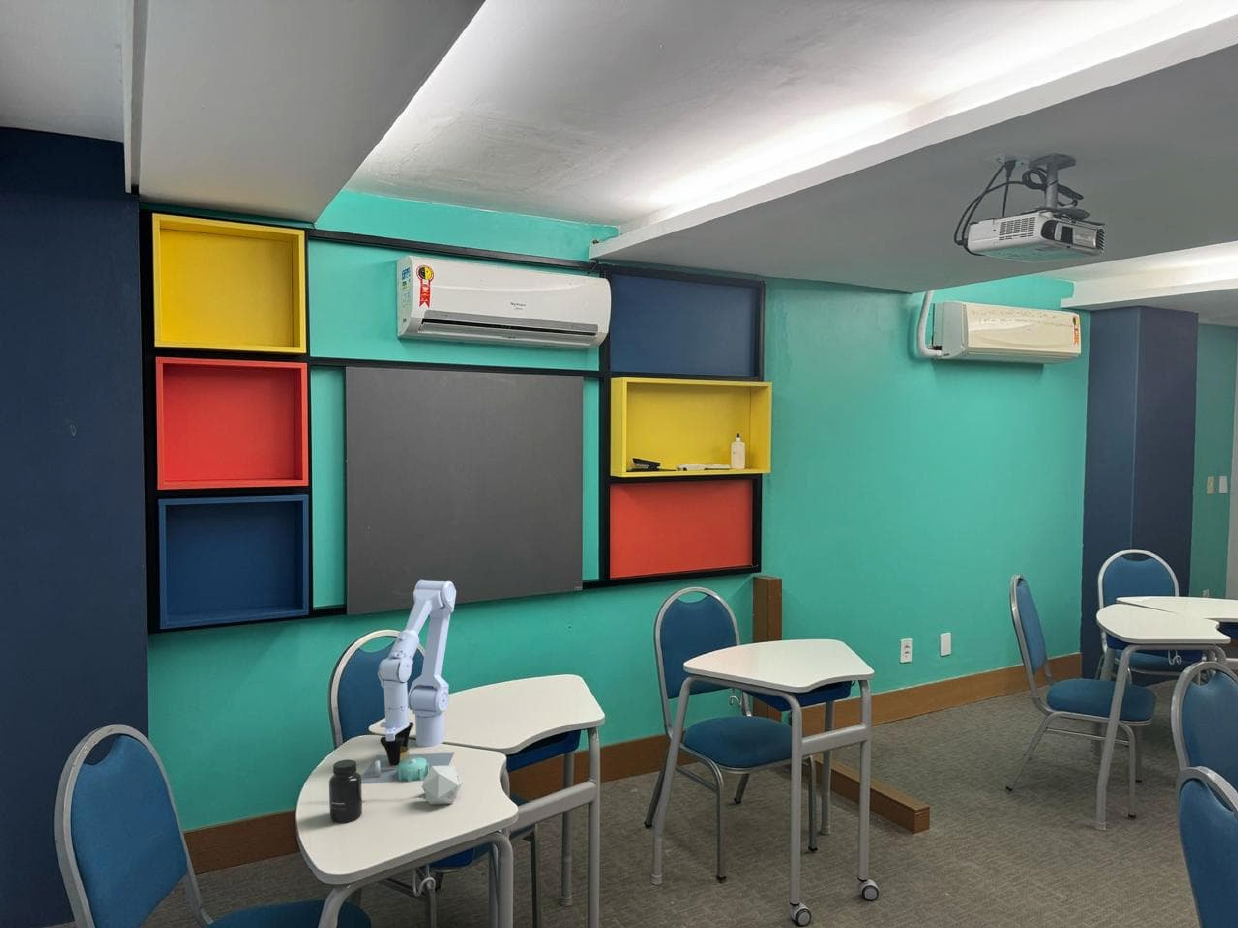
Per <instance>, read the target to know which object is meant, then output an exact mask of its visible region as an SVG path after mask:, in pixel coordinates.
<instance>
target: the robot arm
mask: <svg viewBox="0 0 1238 928" xmlns="http://www.w3.org/2000/svg"><path fill="white" fill-rule="evenodd" d="M456 597H457V590H456V587H455V585H454V583H453V581H451V580H446V581H445V580H424V579H419V580H418V581H417V582H416V584H415V586H414V590H413V592H412V598H413V602H414V603H413V606H412V608H411V611H410V614H409V617H408V621H407V623H406V627H405V629H404V630H402V631H400V632H399V633H398V634H397V636H396V639H395V641H394V643H393V645H392V648H391V650H390V652H389V654H388V656H387V658H385V659H383V660H382V661H381V662H380V664H379V666H378V671H377V676H378V678H379V680H380V684H381V685H380V687H381V688H383V698H384V699H383V701H384V702H383V703H384V721H382V722H381V723H380V725H379V726H380V728H384V730H385V736H382V737H381V738H380V744H381V745H382V747H383V748H384V751H385V753H386V755H387V757H388V760H389V764H390V766H395V765H399V762H400V754H401V747H402V746H405V747H407V748H409V747H408V745H409V739H410V734H411V731H412V729H413V726H415V745H416V746H418V747H420V748H433V747H436V746H439V745H441V744H443V743H444V741H445V739H444V736H445V733H446V732H445V731H446V730H445V714H444V712H445V711H446V710H447V708H448V705H449V703H450V696H449V689H450V687H449V686H450V685H449V683H447V681H446V680H444V679H443V677H442V670H443V663H444V657H445V652H446V645H447V640H448V639H447V638H448V631H449V626H450V619H451V614H452V613H453V612H454V610H455V609H454V608H455V604H456ZM428 616H430V619H429V624H428V625H429V626H428V631H427V636H426V643H425V649H424V656H423V661H422V662H423V663H422V669H421V674H420V675H419V676H417V678H415V679H414V680H413V681H412V683H411V687H410V690H409V691H408V680H409V679H410V677H411V676H412V669H413V664H414V660H413V657H414V655H415V653H416V651H417V648H418V646H419V643H420V637H419V633H420V632H421V630H422V627H423V626H424V624H425V622H426V620H427V619H428ZM432 687H435V688H432ZM409 710H410V711H411V712H412V715H414V722H411V721H410V719H409ZM414 723H415V724H414Z"/></svg>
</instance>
